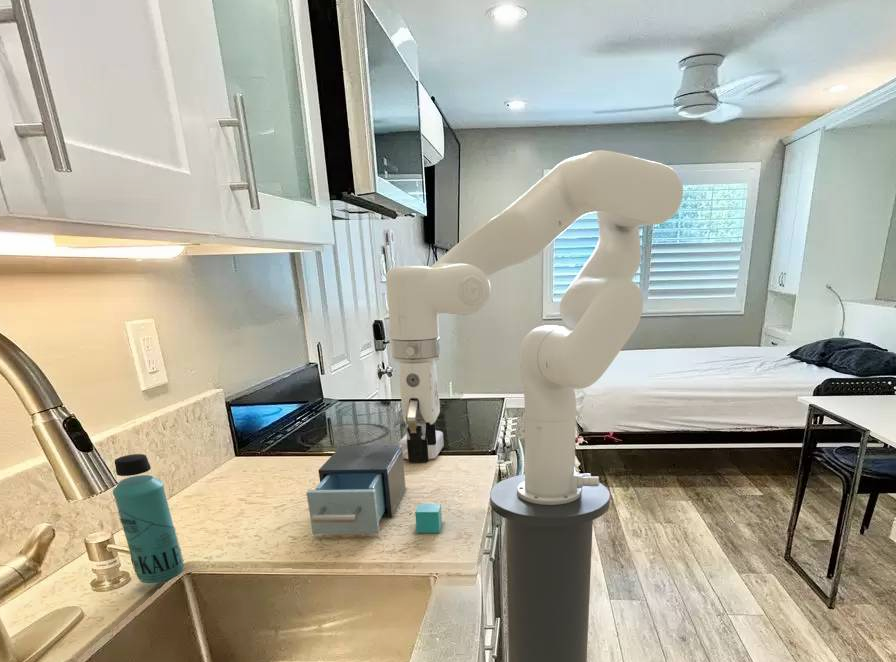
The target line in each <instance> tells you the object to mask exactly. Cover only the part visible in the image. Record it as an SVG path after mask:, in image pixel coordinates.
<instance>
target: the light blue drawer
mask: <svg viewBox="0 0 896 662" xmlns="http://www.w3.org/2000/svg"><path fill="white" fill-rule="evenodd" d="M306 499H307V506H308V511H309V518H310V523H311V530H312V535H366V534H369V535H374V534H376V535H377V534H379V533H380V522H381V520H382V518H381V517H382V515H383V513H384V512H385V510H386V508H387V504H386V494H385V484H384V475H383V473H365V474H327V476H326V477H325V478H324V479H323V480H322V481H321V482H320V481H319V483H318V484H317V486H315V489H308V490H307V491H306Z"/></svg>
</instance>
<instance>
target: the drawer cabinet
mask: <svg viewBox="0 0 896 662" xmlns="http://www.w3.org/2000/svg"><path fill="white" fill-rule="evenodd" d="M317 471H318V477H319V483H320V482H321V481H322V480H323V479H324V478H325V477H326V476H327V474H365V473H383V475H384V484H385V494H386V504H387V508H386V510H385V512H384V513H383V515H382V517H381V519H382V518H383V519H384V518H385V519H387V518H388V519H389V518H390V519H392V518H393V517H394V514H395V513H396V510H397V508H398V506H399V504H400V502H401V499H402V497H403V496H404V493H405V491H406V488H407V487H406V477H405V466H404V459H403V454H402V445H398V444H396V445H395V444H392V445H389V444H388V445H387V444H386V445H385V444H384V445H341V446H340V447H339V448H338V449H337V450H336V451H335V452H334V453H333V454H332V455H331V456H330V457H329V458H328V459H327V460H326V461H325V462H324V464H323V465H322V466H321V467H319V469H318V470H317Z"/></svg>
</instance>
